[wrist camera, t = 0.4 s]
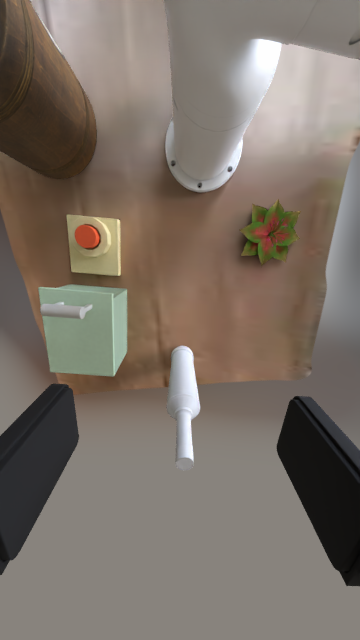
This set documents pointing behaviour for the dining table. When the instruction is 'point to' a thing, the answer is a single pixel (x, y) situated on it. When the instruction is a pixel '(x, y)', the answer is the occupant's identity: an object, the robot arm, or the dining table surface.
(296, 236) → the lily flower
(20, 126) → the wooden container
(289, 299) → the dining table surface
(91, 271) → the control block
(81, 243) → the button
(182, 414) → the bottle
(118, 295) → the compartment
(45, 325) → the lid
